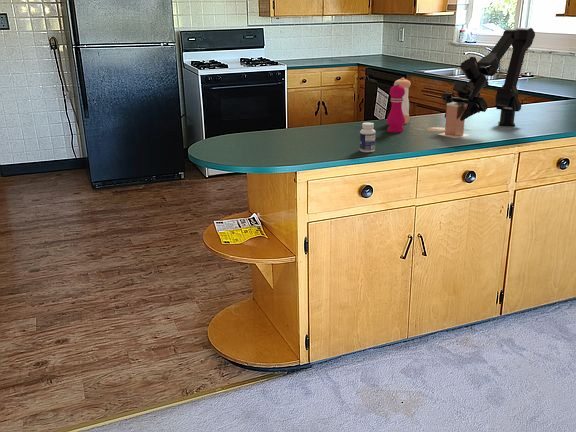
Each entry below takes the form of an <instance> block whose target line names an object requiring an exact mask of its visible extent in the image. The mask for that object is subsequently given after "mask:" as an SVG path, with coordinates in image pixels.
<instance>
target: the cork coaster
mask: <svg viewBox="0 0 576 432" xmlns="http://www.w3.org/2000/svg"><path fill="white" fill-rule="evenodd" d="M426 131H428V132H431V133H438V134H442V133H445V127H442V126H440V127H438V126H436V127H428V128H426Z"/></svg>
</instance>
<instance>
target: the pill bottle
mask: <svg viewBox="0 0 576 432" xmlns="http://www.w3.org/2000/svg"><path fill="white" fill-rule="evenodd" d="M374 126H375V123H374V122H367V121H366V122H362V124H361V127H362V129H361V130H360V131H359V151H360V152H362V153H373V152H375V151H376V130H375V129H374Z"/></svg>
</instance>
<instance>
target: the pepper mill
mask: <svg viewBox="0 0 576 432" xmlns="http://www.w3.org/2000/svg"><path fill="white" fill-rule="evenodd" d="M394 83H395V82H394ZM395 84H396V85H395V86H394V85H393V86H391V88H390V89H389V96H390V102H391V109H390V111H389V113H388V115H387V118H386V124H387V125H389V126H387V132H390V133H402V132H404V127H403V126H404V125H405V124H404V123H405V117H404V114H403V111H402V102H403V98H402V97H403V96H404V94H405V89H404V87H402V86H400V82H399V81H397V82H396V83H395Z"/></svg>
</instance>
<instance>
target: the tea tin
mask: <svg viewBox="0 0 576 432" xmlns="http://www.w3.org/2000/svg"><path fill="white" fill-rule="evenodd" d="M446 108H447V111H446V110H445V112H446V118H445V126H444V128H445V132H444V133H445V135H450V136H460V135H463V134H464V132H465V131H464V130H465V121H466V119H465V120H463V121H461V120H460V118H461V116H462V115H463V113H464V111H465V110H466V108H467V105H466V103H459V102H452V103H447V105H446Z"/></svg>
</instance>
